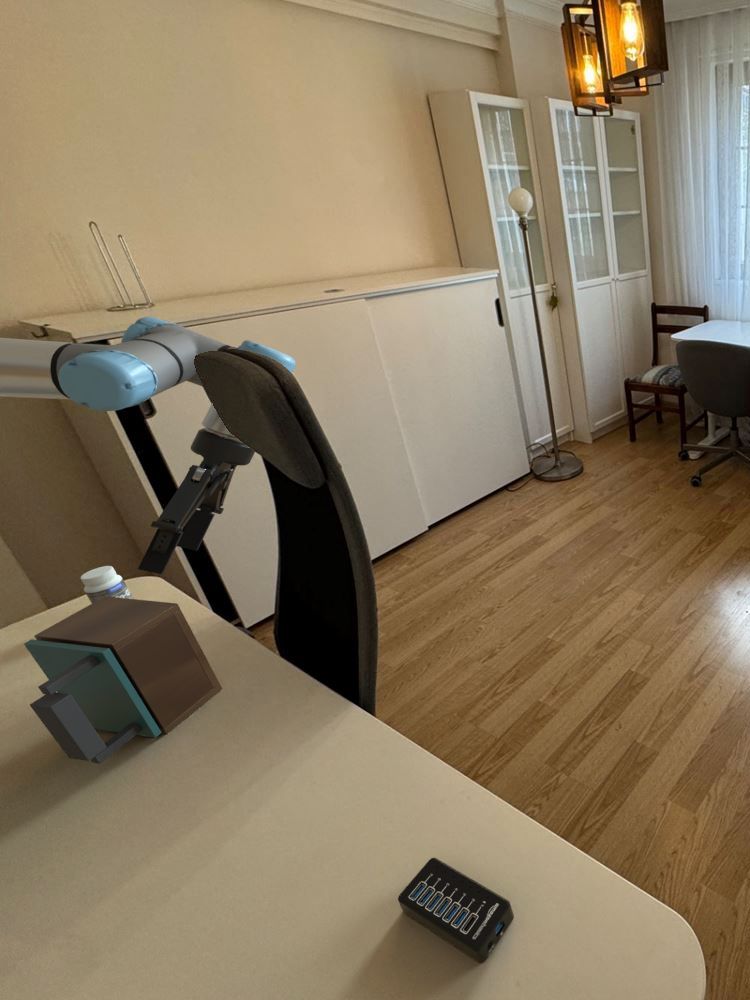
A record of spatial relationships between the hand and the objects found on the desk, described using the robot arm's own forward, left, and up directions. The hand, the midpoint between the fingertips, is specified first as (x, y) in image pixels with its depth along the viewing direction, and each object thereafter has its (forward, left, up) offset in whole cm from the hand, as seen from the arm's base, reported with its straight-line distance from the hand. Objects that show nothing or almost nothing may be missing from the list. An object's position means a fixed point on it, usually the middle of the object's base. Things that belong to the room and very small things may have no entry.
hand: (169, 558), depth 87 cm
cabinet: (+8, -14, -15) cm, 22 cm away
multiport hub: (+66, -32, -15) cm, 75 cm away
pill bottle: (-22, +3, -15) cm, 27 cm away
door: (+8, -22, -15) cm, 27 cm away
